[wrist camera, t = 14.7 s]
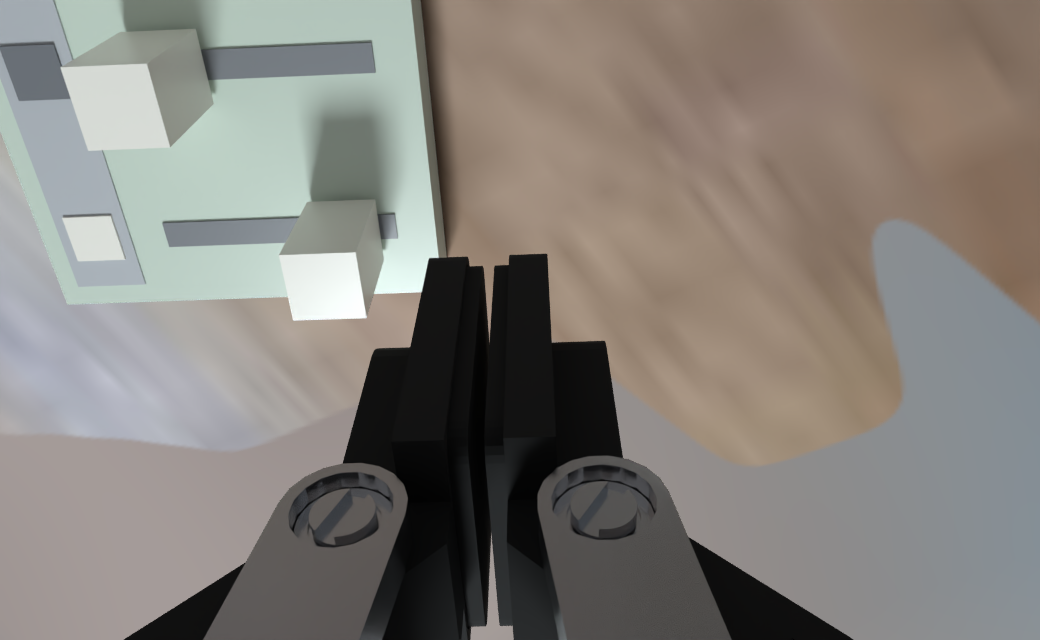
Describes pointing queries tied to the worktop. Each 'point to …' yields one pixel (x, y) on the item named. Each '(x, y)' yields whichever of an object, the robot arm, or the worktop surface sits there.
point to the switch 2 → (333, 260)
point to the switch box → (226, 145)
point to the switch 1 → (139, 89)
